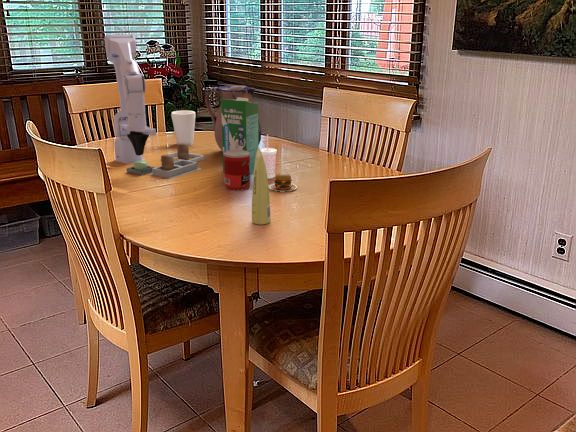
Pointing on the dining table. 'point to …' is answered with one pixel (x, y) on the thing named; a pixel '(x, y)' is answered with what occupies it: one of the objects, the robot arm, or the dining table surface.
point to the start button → (140, 165)
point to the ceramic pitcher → (231, 94)
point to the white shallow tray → (195, 157)
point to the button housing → (138, 172)
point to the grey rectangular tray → (176, 169)
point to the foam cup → (184, 126)
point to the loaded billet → (167, 162)
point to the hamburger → (282, 182)
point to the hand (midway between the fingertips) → (139, 154)
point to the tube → (260, 192)
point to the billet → (183, 151)
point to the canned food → (237, 169)
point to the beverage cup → (269, 160)
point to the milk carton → (240, 127)
